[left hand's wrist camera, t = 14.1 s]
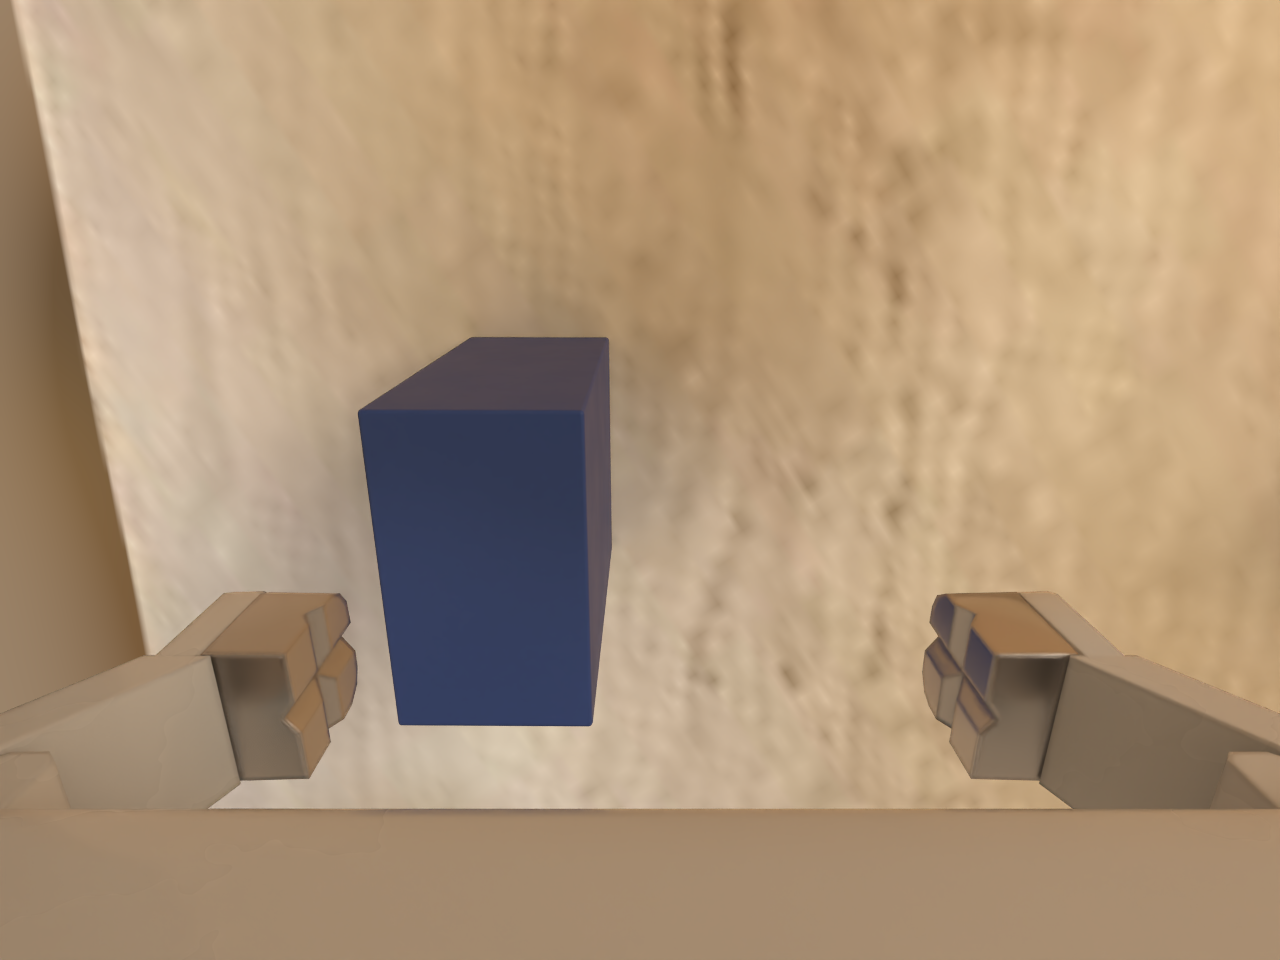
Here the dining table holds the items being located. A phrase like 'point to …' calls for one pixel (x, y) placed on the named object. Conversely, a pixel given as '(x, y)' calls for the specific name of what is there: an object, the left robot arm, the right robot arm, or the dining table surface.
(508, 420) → the brick
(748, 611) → the dining table surface
